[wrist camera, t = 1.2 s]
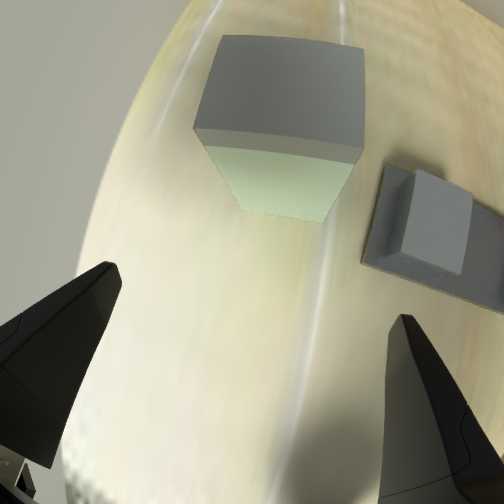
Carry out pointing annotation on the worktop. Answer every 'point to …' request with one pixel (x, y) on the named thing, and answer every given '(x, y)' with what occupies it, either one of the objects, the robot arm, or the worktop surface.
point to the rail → (475, 258)
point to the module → (284, 122)
